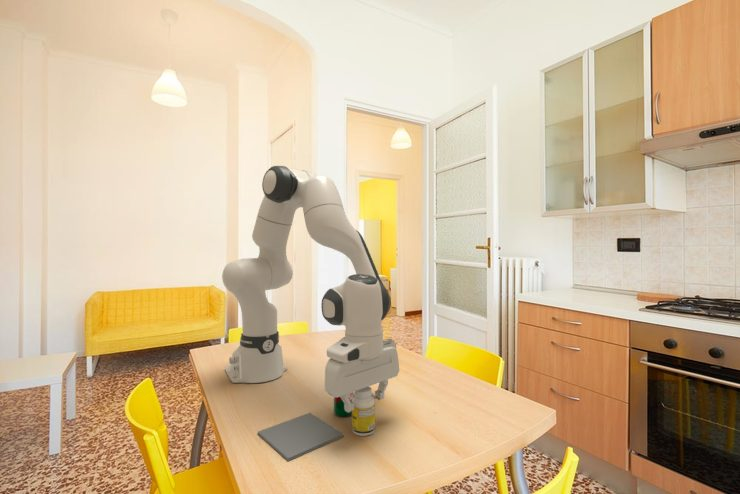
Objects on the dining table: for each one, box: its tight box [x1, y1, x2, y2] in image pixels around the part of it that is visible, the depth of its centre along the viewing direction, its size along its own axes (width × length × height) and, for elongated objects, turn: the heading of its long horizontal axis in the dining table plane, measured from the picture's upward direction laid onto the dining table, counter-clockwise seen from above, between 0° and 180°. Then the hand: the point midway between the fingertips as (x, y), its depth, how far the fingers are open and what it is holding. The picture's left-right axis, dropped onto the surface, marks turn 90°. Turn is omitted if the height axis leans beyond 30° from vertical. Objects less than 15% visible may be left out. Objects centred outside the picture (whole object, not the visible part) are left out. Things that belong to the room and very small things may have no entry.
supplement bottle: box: [351, 386, 376, 437], centre depth 85 cm, size 5×5×10 cm
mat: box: [257, 412, 345, 462], centre depth 83 cm, size 14×14×1 cm
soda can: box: [333, 392, 354, 418], centre depth 93 cm, size 5×5×12 cm
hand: (365, 404), depth 84 cm, fingers open, 8 cm apart
